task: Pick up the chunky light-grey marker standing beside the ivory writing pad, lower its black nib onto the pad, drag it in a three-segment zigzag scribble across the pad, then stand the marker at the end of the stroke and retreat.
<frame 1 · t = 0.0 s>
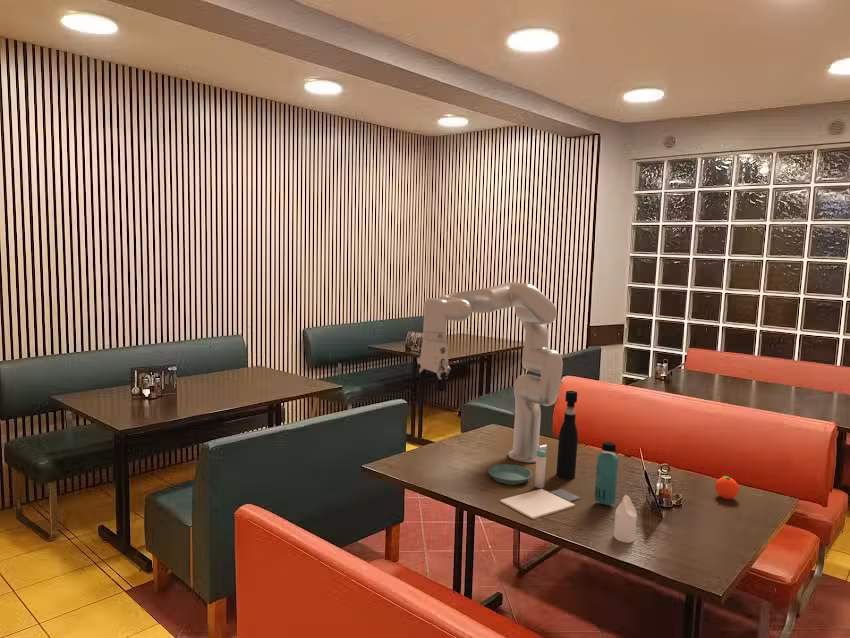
hand: (432, 387, 199), 31 cm above the table, fingers open, 9 cm apart
black bottle: (565, 476, 211), on the table
beverage bottle: (604, 505, 188), on the table
marker: (539, 487, 200), on the table
saucer: (509, 479, 207), on the table
clementine: (725, 498, 199), on the table
pad: (537, 504, 187), on the table
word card: (565, 496, 194), on the table
white tapered cylinder: (623, 538, 167), on the table
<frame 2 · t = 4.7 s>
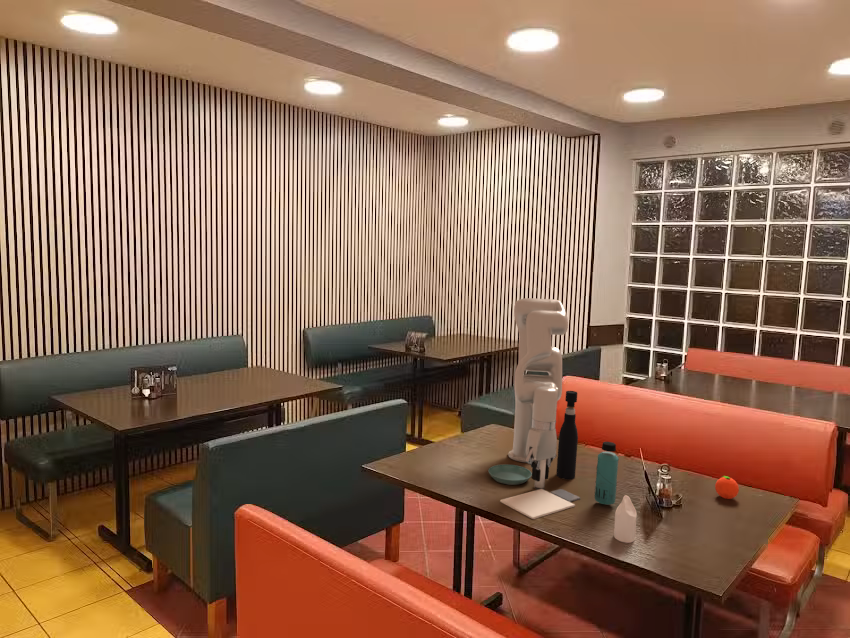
hand: (539, 478, 199), 3 cm above the table, fingers closed on marker, 3 cm apart
marker: (539, 487, 200), on the table, touching gripper
everything else where it was.
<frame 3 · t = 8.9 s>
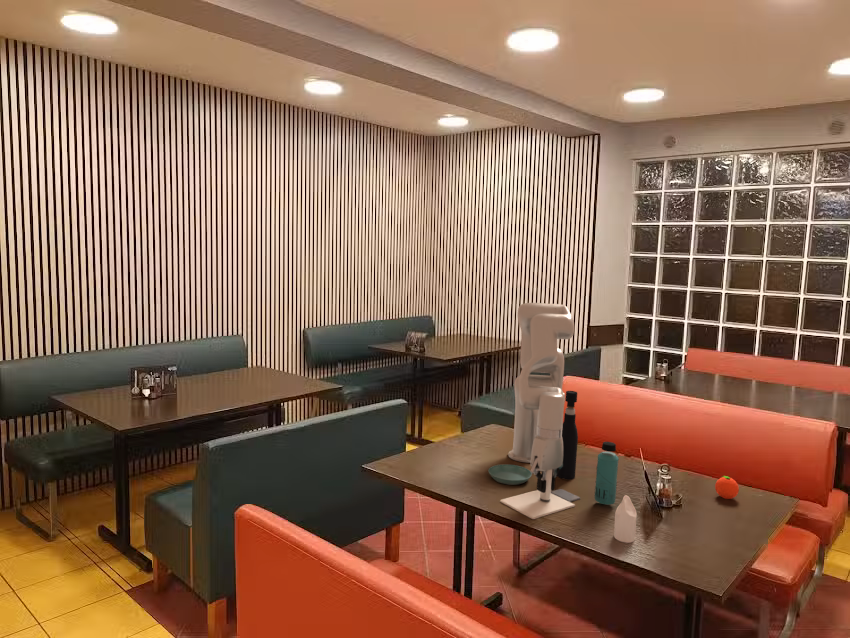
hand: (545, 489, 188), 4 cm above the table, fingers closed on marker, 3 cm apart
marker: (544, 499, 188), point 1 cm above the table, touching gripper
everything else where it was.
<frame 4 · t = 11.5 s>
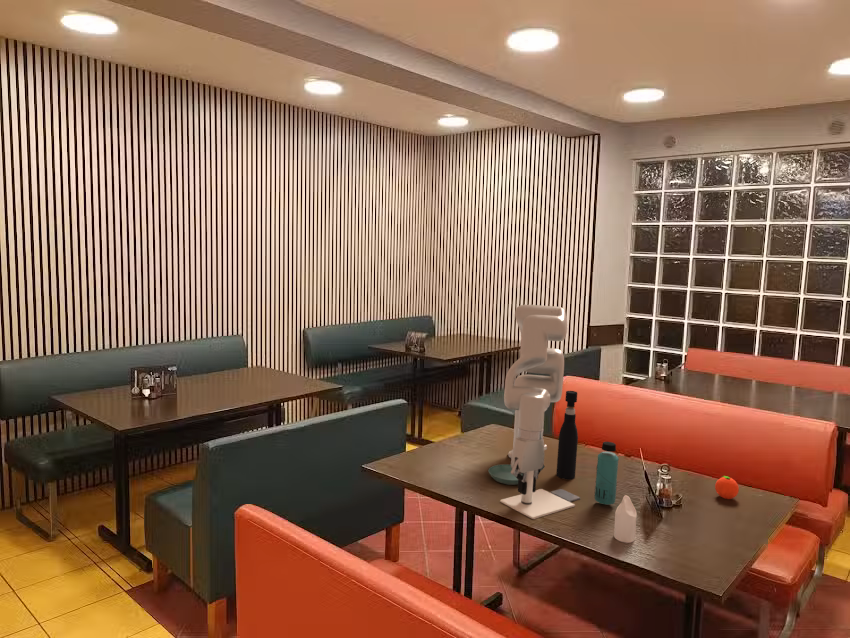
hand: (526, 491, 186), 4 cm above the table, fingers closed on marker, 3 cm apart
marker: (526, 502, 186), point 1 cm above the table, touching gripper
everything else where it was.
when the fingers open (4 cm above the table, at t = 13.3 s): marker stays where it is, resting on pad.
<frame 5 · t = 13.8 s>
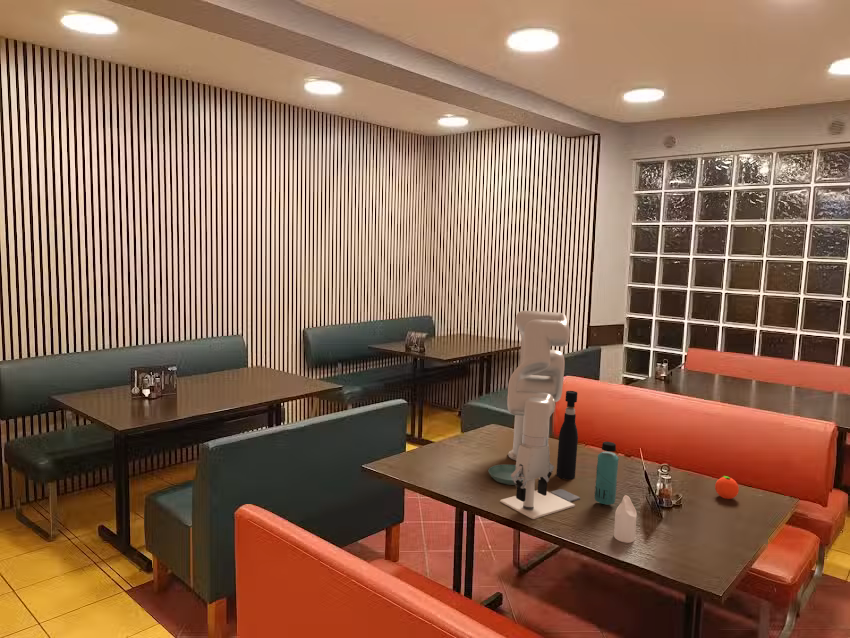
hand: (531, 496, 180), 5 cm above the table, fingers open, 8 cm apart
marker: (528, 507, 182), point 1 cm above the table, tilted 10°, touching pad
everything else where it was.
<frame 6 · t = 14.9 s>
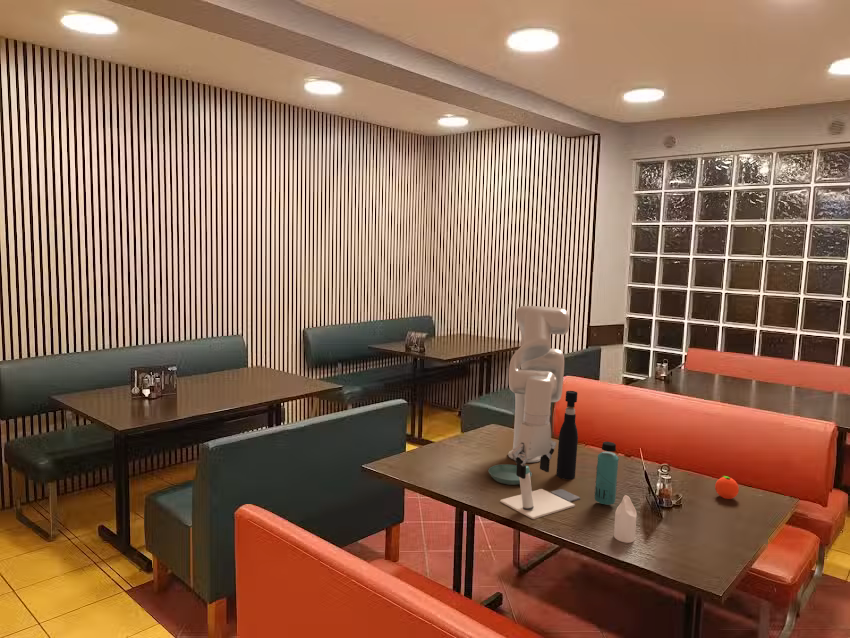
hand: (532, 473, 180), 12 cm above the table, fingers open, 9 cm apart
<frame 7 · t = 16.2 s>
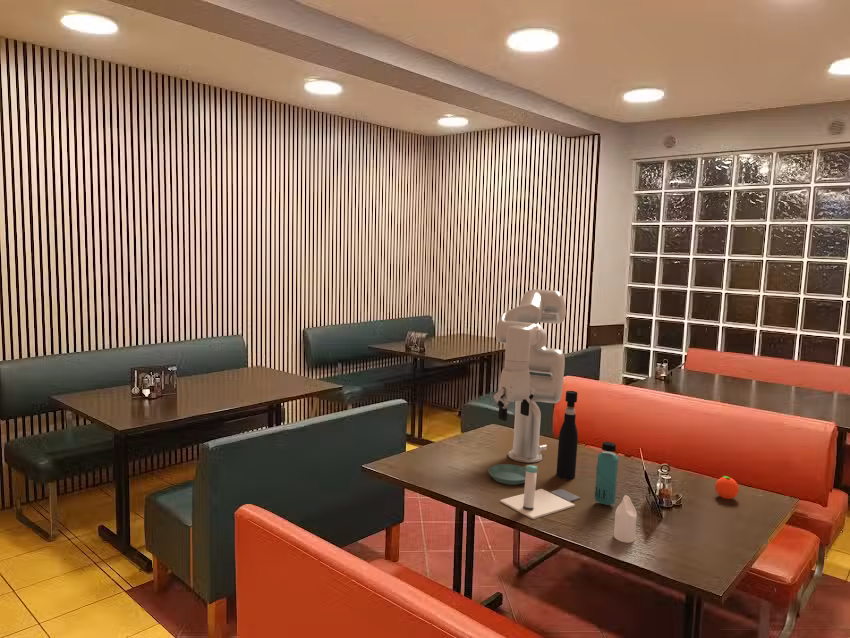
hand: (513, 417, 193), 24 cm above the table, fingers open, 9 cm apart
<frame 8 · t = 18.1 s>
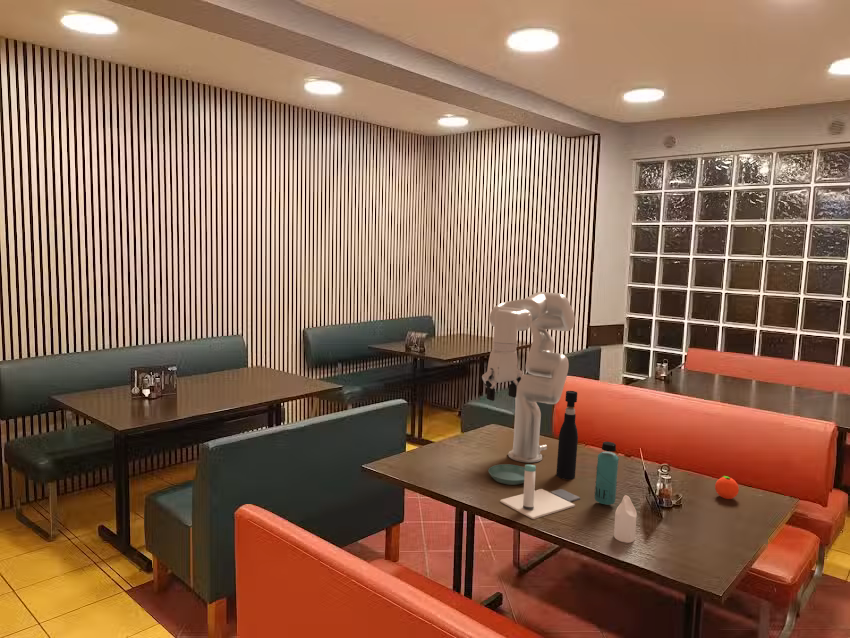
hand: (501, 398, 202), 28 cm above the table, fingers open, 9 cm apart
nothing on the table moved.
at the end: marker inside the target area (1.1 cm from its centre), point 0.9 cm above the table; marker tilted 10°; the gripper is holding nothing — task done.
